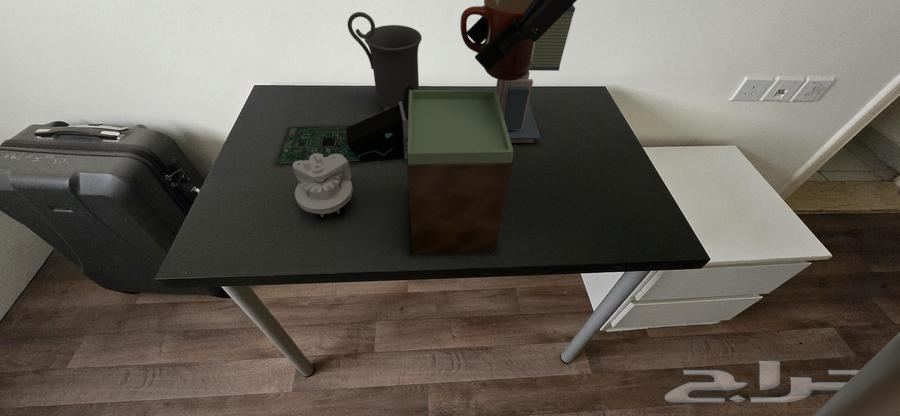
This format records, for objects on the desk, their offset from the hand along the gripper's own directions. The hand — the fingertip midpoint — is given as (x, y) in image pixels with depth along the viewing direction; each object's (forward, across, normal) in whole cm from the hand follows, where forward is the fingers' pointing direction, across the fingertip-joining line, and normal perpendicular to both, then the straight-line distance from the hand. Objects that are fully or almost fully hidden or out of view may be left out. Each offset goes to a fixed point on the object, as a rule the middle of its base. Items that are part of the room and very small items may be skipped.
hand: (476, 50), depth 55 cm
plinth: (+25, -5, -21) cm, 33 cm away
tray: (+10, -5, -5) cm, 12 cm away
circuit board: (+45, +21, -1) cm, 50 cm away
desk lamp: (+12, +26, -34) cm, 44 cm away
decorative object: (+34, +17, -12) cm, 40 cm away
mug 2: (0, 0, -5) cm, 5 cm away
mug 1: (+33, +37, -13) cm, 51 cm away
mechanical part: (+43, +1, -3) cm, 43 cm away
